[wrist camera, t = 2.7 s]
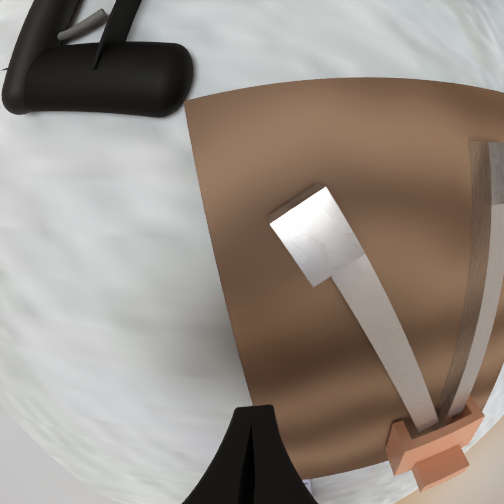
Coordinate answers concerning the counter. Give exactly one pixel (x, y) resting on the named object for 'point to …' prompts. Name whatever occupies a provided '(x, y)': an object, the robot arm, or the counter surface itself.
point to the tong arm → (352, 287)
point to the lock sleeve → (434, 449)
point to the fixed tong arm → (478, 279)
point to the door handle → (93, 66)
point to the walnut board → (367, 233)
